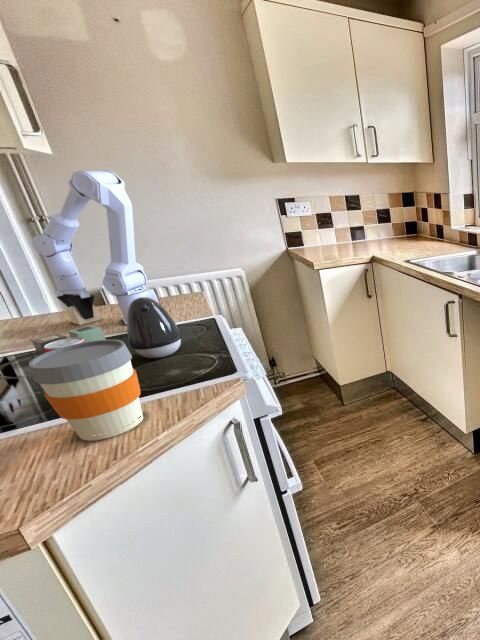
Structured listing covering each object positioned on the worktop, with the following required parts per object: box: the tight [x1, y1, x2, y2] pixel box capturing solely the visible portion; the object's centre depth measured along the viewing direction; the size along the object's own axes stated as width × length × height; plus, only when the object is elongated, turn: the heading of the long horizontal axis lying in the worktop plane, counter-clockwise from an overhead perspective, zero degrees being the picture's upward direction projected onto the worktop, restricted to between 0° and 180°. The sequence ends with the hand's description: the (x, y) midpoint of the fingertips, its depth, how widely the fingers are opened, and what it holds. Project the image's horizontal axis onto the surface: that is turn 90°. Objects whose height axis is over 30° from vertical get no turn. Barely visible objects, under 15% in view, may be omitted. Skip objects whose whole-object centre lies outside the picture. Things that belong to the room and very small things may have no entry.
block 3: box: [67, 324, 107, 342], centre depth 113 cm, size 5×5×5 cm
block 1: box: [31, 333, 68, 356], centre depth 107 cm, size 5×5×5 cm
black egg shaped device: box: [126, 297, 182, 359], centre depth 105 cm, size 10×10×15 cm
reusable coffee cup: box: [28, 339, 144, 442], centre depth 75 cm, size 13×13×15 cm
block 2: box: [65, 304, 101, 326], centre depth 132 cm, size 5×5×5 cm
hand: (84, 317), depth 133 cm, fingers open, 5 cm apart
